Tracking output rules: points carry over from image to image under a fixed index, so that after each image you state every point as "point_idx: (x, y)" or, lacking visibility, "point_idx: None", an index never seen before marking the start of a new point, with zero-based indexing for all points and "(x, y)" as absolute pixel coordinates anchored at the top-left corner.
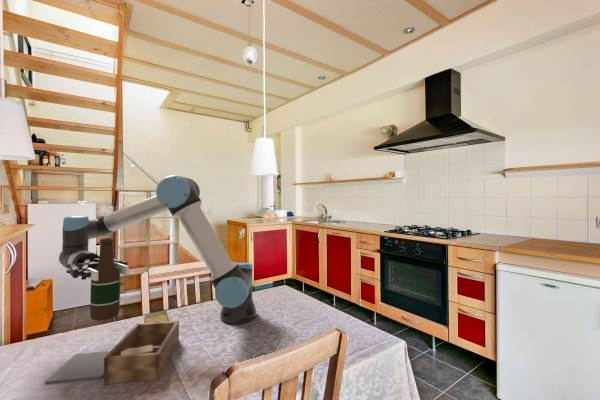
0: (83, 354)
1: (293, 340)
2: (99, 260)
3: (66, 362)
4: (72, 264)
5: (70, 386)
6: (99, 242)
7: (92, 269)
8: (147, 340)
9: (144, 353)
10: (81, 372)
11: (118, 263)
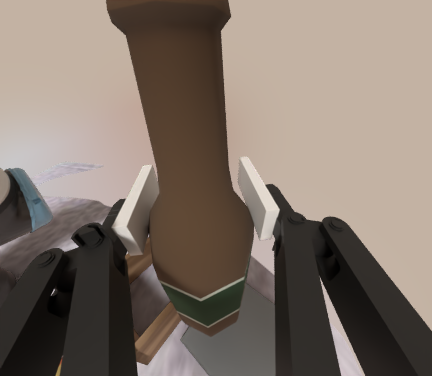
0: None
1: (73, 200)
2: (227, 165)
3: None
4: None
5: (260, 281)
6: (230, 16)
7: (255, 180)
8: (136, 334)
9: None
10: (249, 304)
11: (120, 225)
